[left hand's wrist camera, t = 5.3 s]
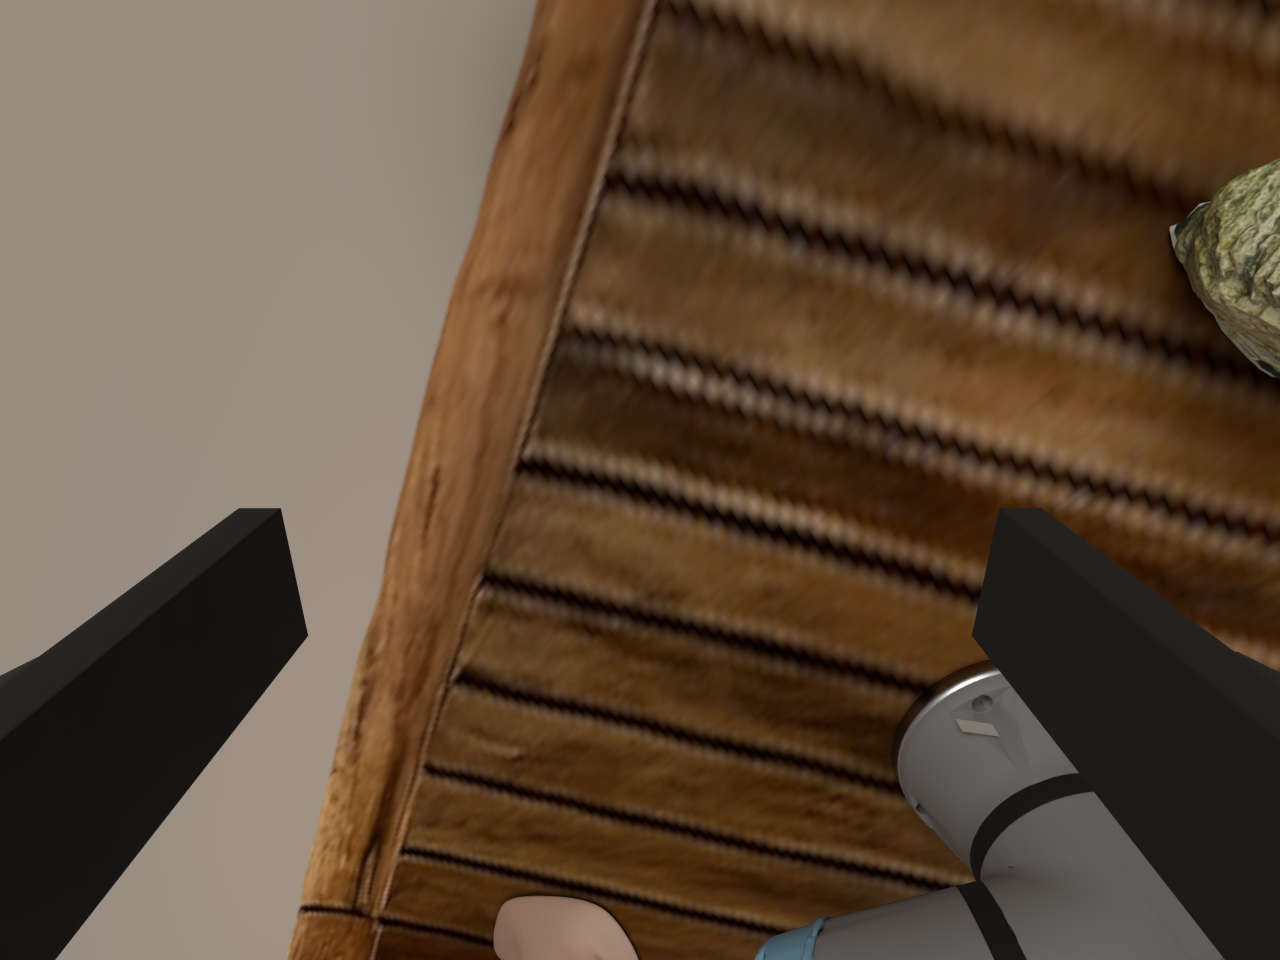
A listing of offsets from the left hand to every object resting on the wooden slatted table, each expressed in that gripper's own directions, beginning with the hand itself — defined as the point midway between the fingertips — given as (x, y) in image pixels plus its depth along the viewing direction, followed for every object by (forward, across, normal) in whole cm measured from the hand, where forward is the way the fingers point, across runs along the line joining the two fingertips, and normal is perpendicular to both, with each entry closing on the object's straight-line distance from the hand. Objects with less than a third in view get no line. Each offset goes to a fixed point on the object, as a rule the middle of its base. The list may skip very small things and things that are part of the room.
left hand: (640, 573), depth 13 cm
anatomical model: (+28, +6, +51) cm, 59 cm away
